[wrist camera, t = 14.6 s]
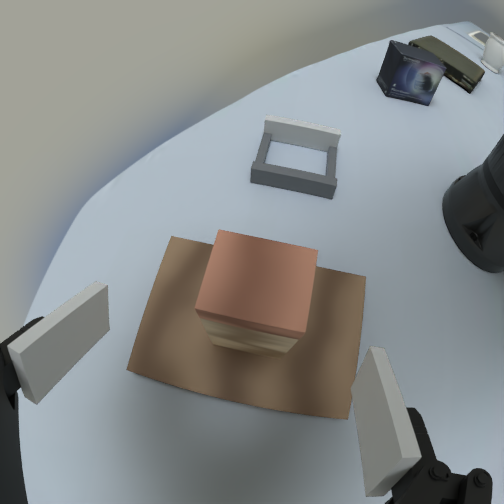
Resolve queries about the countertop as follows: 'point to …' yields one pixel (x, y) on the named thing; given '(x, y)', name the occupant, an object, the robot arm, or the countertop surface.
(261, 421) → the countertop surface
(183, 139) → the countertop surface
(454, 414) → the countertop surface
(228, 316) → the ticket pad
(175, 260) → the walnut board
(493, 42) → the jar
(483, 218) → the robot arm
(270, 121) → the frame
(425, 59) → the small box
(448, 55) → the network switch
